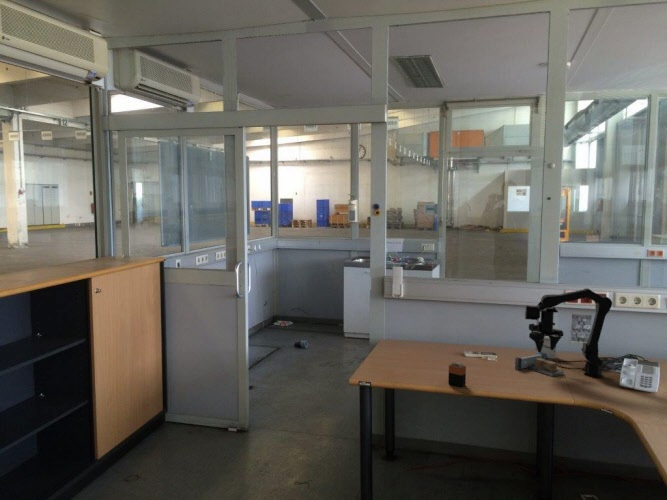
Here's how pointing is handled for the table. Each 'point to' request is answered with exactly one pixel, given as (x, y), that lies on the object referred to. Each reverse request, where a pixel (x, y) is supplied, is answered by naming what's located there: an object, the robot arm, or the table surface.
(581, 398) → the table surface
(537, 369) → the keeper cradle
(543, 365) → the bar
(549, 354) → the ink box
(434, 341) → the table surface
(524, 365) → the door
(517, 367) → the door frame
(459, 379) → the battery
